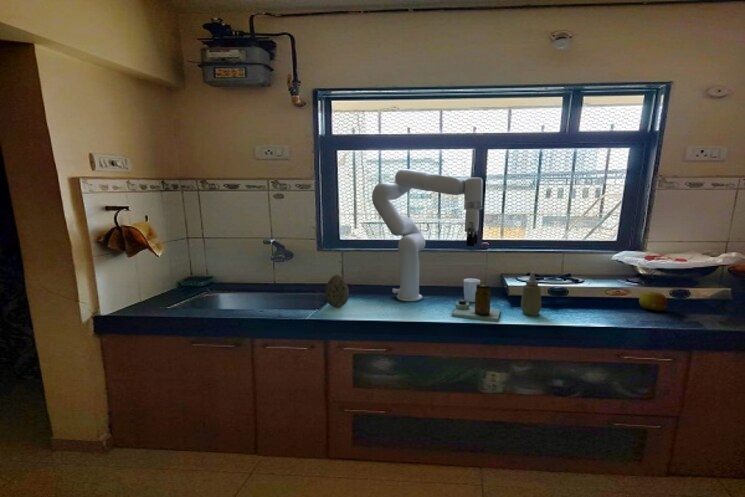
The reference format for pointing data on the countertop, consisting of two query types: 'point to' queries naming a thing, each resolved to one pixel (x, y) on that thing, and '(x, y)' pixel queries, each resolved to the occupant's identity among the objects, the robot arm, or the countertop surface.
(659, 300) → the fruit
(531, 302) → the squeeze bottle
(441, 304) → the countertop surface
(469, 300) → the white cup
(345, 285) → the decorative egg
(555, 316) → the countertop surface
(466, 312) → the scale
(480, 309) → the condiment
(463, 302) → the tare button
